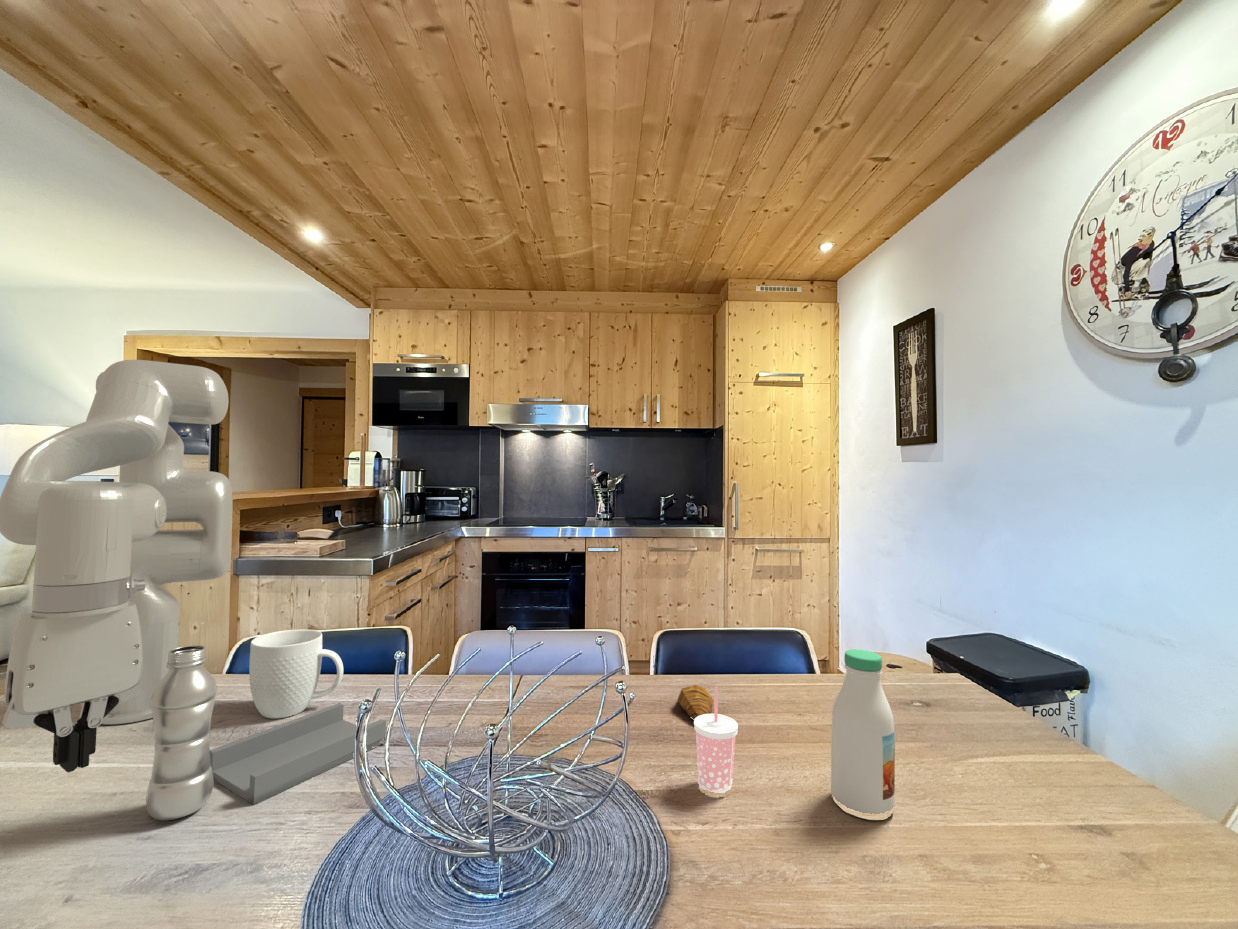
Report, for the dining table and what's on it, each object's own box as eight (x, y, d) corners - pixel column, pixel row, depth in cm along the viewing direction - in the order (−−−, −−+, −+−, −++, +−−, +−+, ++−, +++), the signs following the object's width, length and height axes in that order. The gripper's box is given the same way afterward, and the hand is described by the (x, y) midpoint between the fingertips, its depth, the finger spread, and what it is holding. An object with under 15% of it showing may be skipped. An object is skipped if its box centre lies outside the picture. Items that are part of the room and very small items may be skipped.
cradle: (207, 776, 74) (209, 750, 74) (338, 723, 90) (339, 703, 90) (253, 805, 68) (255, 777, 68) (385, 743, 84) (386, 721, 84)
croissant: (672, 697, 106) (672, 671, 106) (706, 697, 106) (706, 672, 106) (682, 728, 92) (683, 699, 92) (721, 729, 92) (721, 699, 92)
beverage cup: (710, 771, 78) (711, 675, 79) (746, 789, 74) (747, 687, 74) (683, 787, 74) (685, 686, 74) (720, 807, 69) (722, 699, 70)
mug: (349, 695, 102) (352, 627, 103) (332, 721, 91) (335, 644, 92) (263, 700, 99) (266, 630, 99) (234, 727, 88) (237, 648, 89)
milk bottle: (867, 830, 66) (869, 666, 66) (818, 796, 72) (819, 648, 73) (907, 813, 69) (908, 658, 70) (856, 783, 76) (857, 642, 77)
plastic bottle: (175, 832, 62) (183, 660, 63) (129, 824, 64) (138, 655, 64) (226, 800, 69) (233, 644, 69) (183, 793, 70) (190, 640, 71)
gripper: (154, 582, 67) (146, 730, 66) (-32, 604, 54) (-43, 788, 53) (180, 589, 63) (172, 746, 62) (-13, 615, 50) (-25, 814, 50)
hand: (73, 765), depth 58 cm, fingers closed
